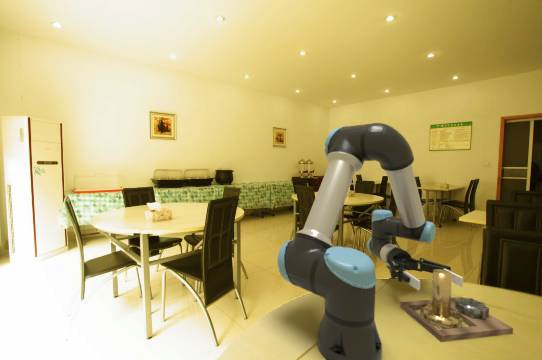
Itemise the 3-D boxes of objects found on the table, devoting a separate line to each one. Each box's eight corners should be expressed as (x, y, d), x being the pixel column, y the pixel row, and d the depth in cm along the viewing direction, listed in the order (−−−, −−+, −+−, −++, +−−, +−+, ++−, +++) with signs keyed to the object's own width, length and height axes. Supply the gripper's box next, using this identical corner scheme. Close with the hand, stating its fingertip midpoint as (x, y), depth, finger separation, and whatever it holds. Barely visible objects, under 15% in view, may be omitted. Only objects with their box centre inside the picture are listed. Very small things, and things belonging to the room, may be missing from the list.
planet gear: (438, 332, 68) (440, 281, 67) (413, 311, 78) (414, 266, 77) (471, 329, 69) (473, 278, 68) (442, 309, 79) (443, 264, 78)
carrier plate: (440, 341, 65) (440, 335, 64) (400, 306, 80) (400, 302, 80) (512, 333, 67) (512, 328, 67) (459, 301, 83) (460, 296, 83)
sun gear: (471, 321, 70) (472, 312, 70) (449, 306, 78) (449, 298, 78) (495, 318, 71) (496, 310, 71) (471, 303, 79) (471, 296, 79)
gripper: (426, 265, 97) (478, 293, 76) (363, 269, 93) (400, 299, 72) (426, 245, 96) (479, 268, 75) (364, 249, 93) (400, 273, 72)
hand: (440, 283), depth 74 cm, fingers open, 13 cm apart
